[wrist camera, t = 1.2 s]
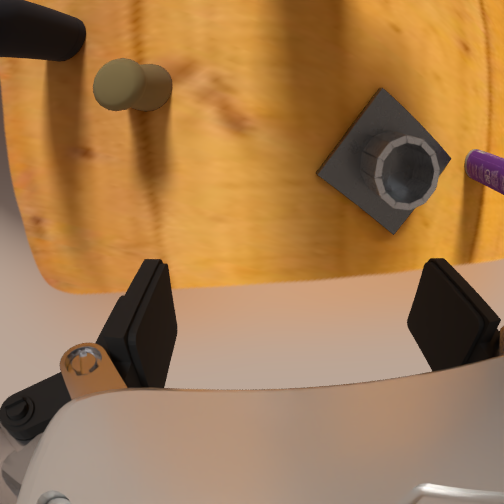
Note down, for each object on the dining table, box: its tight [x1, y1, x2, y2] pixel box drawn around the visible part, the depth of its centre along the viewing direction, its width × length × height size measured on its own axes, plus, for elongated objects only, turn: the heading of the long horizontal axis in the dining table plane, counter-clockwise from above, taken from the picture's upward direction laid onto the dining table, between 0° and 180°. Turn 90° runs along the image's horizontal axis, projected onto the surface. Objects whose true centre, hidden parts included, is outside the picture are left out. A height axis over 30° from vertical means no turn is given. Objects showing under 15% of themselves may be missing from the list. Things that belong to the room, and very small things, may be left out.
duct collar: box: [316, 88, 451, 235], centre depth 34 cm, size 14×14×6 cm
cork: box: [93, 58, 172, 111], centre depth 28 cm, size 6×6×11 cm
